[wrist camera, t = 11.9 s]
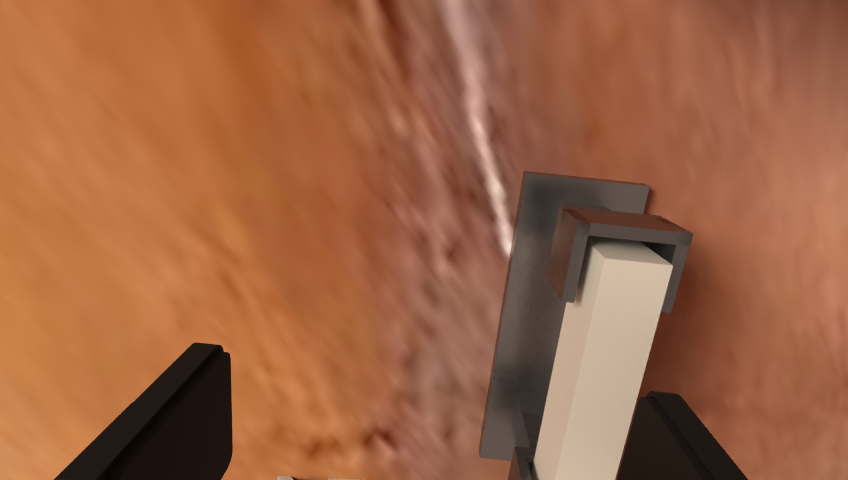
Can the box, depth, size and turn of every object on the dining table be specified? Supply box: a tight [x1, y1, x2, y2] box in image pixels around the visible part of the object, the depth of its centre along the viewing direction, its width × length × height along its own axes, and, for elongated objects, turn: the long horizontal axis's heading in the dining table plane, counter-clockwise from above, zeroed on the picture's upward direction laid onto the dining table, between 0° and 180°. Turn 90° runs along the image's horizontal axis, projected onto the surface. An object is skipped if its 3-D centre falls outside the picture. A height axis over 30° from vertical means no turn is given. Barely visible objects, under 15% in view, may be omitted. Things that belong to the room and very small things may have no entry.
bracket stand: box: [479, 171, 693, 480], centre depth 38 cm, size 28×10×12 cm, turn 174°
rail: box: [531, 236, 673, 480], centre depth 33 cm, size 22×4×5 cm, turn 174°
